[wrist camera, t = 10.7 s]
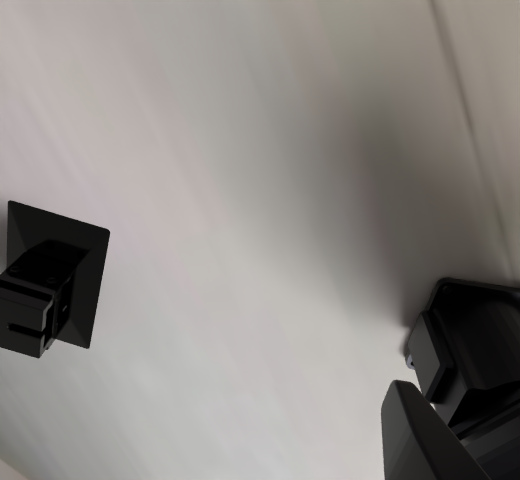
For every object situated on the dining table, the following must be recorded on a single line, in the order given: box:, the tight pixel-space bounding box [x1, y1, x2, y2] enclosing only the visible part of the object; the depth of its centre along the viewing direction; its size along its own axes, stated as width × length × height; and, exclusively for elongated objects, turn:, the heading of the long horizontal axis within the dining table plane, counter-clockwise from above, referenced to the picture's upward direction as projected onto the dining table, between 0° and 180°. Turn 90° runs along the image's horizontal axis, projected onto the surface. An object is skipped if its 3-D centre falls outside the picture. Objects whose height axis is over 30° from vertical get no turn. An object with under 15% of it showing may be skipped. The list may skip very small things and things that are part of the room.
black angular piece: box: [0, 200, 110, 358], centre depth 24 cm, size 12×7×5 cm, turn 162°
